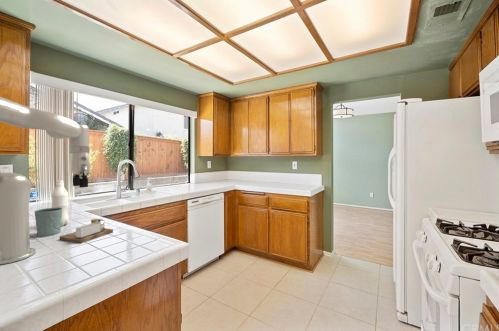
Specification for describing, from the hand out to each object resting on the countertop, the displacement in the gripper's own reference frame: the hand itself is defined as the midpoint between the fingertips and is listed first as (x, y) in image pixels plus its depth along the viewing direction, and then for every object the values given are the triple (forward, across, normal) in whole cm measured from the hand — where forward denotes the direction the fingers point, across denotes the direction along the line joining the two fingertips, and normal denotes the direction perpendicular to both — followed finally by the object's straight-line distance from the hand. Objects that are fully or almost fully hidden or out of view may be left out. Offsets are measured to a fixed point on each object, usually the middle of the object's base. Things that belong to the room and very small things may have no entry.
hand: (80, 186), depth 107 cm
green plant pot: (+24, +16, +8) cm, 30 cm away
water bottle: (+24, +29, +1) cm, 37 cm away
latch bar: (+22, -7, -2) cm, 23 cm away
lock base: (+24, -3, -2) cm, 24 cm away
